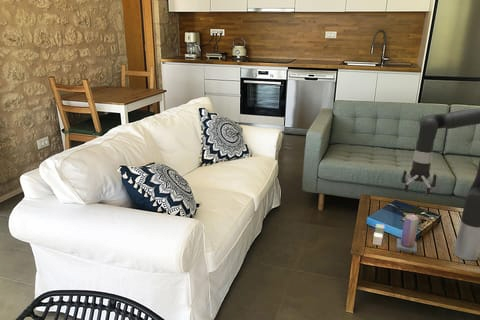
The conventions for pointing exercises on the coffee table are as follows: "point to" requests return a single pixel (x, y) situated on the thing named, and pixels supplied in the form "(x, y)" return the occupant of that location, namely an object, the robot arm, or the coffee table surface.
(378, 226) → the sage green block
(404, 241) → the beverage can
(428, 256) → the coffee table surface
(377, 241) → the cream block
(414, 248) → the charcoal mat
